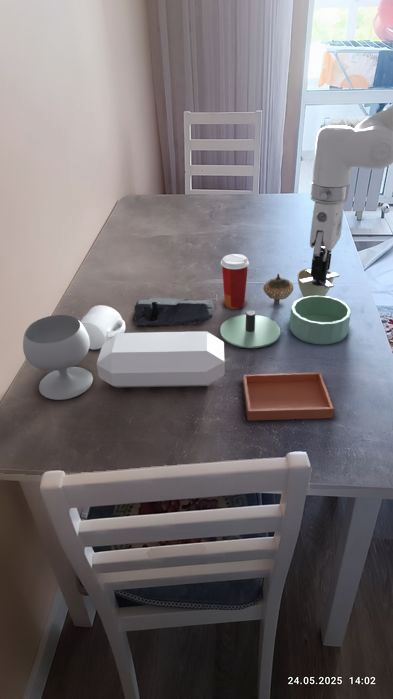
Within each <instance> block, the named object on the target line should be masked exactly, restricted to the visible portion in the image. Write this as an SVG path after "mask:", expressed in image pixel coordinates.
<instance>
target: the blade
mask: <svg viewBox="0 0 393 699" xmlns="http://www.w3.org/2000/svg"><path fill="white" fill-rule="evenodd" d="M321 252H323V253H324V251H323V250H321ZM330 254H331V253H330V250H329V249H327V256H326V260H327V267H326V274H325V277H324V278H323V277H317V276H312V275H311V269H308V268H307V269H308V270H306V272H307V273H308V274H310V275H311V276H312V277H311V278H306V279H301V280H299V282H301V283H302V284H305V283H310V282H312V284H313V285H316V286H323V285H324V286H325V287H326V288H330V289H331V288H334V287H335V286H334V284H333V283H332V284H331V283H330V282H328V281H327V280H326V279H331V278H333V279H335V278H339V277H340V275H339V274H338V273H337V272H331V274H327V271H329V270H328V263H329V255H330Z"/></svg>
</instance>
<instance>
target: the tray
mask: <svg viewBox="0 0 393 699" xmlns="http://www.w3.org/2000/svg"><path fill="white" fill-rule="evenodd" d="M242 385H243V386H242V387H243V395H244V402H245V410H246V417H247V421H274V420H275V421H276V420H277V421H279V420H280V421H281V420H311V419H313V420H314V419H333V415H334V411H335V409H334V405H333V403H332V399H331V397H330V394H329V392H328V389H327V386H326V383H325V381H324V377H323V375H322V372H290V373H260V374H258V373H255V374H253V373H252V374H243V375H242Z"/></svg>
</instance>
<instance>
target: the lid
mask: <svg viewBox="0 0 393 699" xmlns="http://www.w3.org/2000/svg"><path fill="white" fill-rule="evenodd" d="M281 330H282V329H281V327H280V325H279V324H278V323H277V322H276V321H275V320H273V319H271V318H269V317H267V316H263V315H257V314H256V312H255V311H254V310H248V311H246V312H245V314H242V315H236V316H233V317H230V318H228V319H227V320H225V321H224V322H223V323H222V324H221V325H220V328H219V334H220V336H221V339H223V340H224V342H226V343H228V344H230V345H232V346H235V347H238V348H244V349H259V348H265V347H267V346H270V345H272V344H274V343H275V342H277V341H278V339H279V338H280V337H281V332H282V331H281Z"/></svg>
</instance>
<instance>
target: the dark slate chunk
mask: <svg viewBox="0 0 393 699" xmlns="http://www.w3.org/2000/svg"><path fill="white" fill-rule="evenodd" d="M214 311H215V304H214V302H213V301H212V300H211V299H203V300H202V299H201V300H199V299H198V300H194V299H193V300H192V299H190V300H189V299H182V298H173V297H172V298H171V297H170V298H169V297H148V298H147V299H141V300H137V301H136V302H135V305H134V318H135V326H137V327H139V328H141V327H142V328H143V327H147V326H151V327H161V326H162V327H168V326H170V325H185V324H186V325H187V324H199V323H200V322H205V321H210V320H211V319H212V318H213V314H214ZM153 316H156V320H153V321H152V317H153Z"/></svg>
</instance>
